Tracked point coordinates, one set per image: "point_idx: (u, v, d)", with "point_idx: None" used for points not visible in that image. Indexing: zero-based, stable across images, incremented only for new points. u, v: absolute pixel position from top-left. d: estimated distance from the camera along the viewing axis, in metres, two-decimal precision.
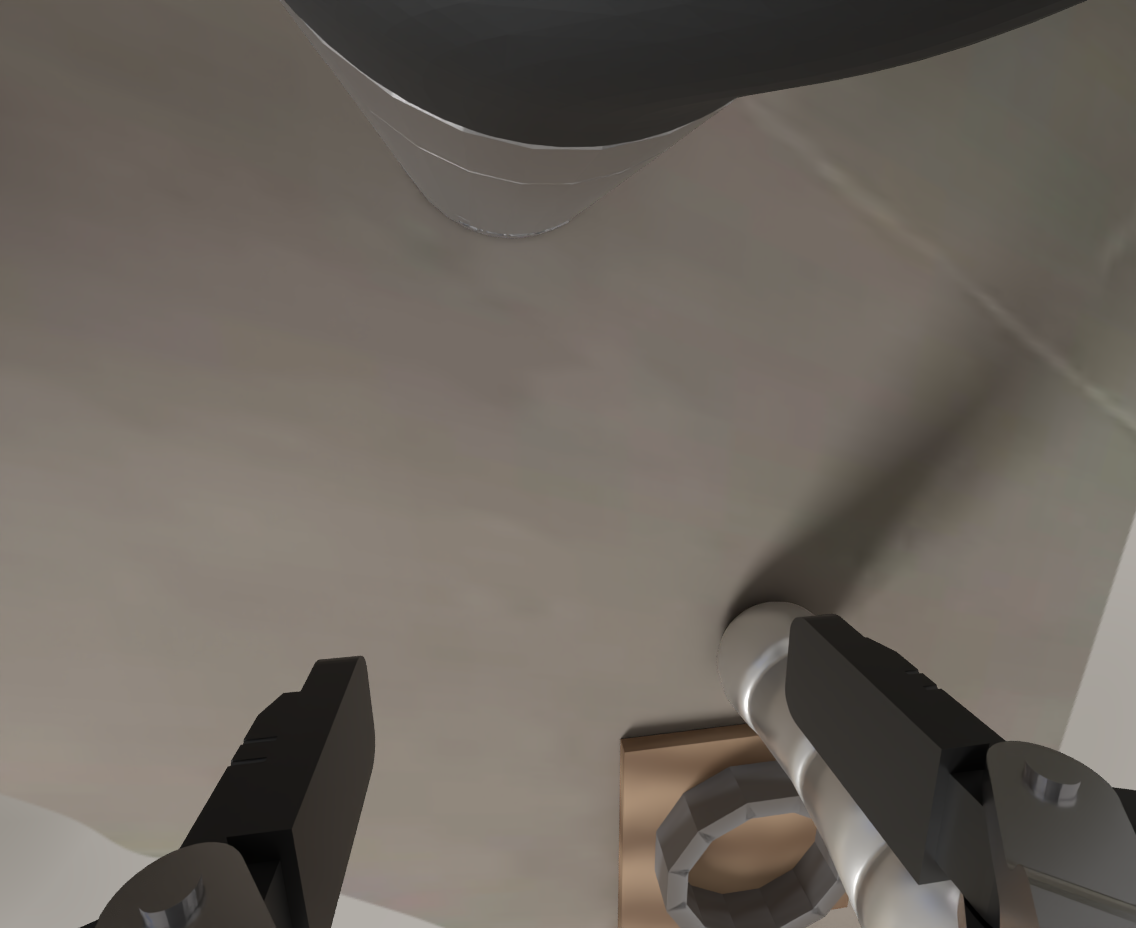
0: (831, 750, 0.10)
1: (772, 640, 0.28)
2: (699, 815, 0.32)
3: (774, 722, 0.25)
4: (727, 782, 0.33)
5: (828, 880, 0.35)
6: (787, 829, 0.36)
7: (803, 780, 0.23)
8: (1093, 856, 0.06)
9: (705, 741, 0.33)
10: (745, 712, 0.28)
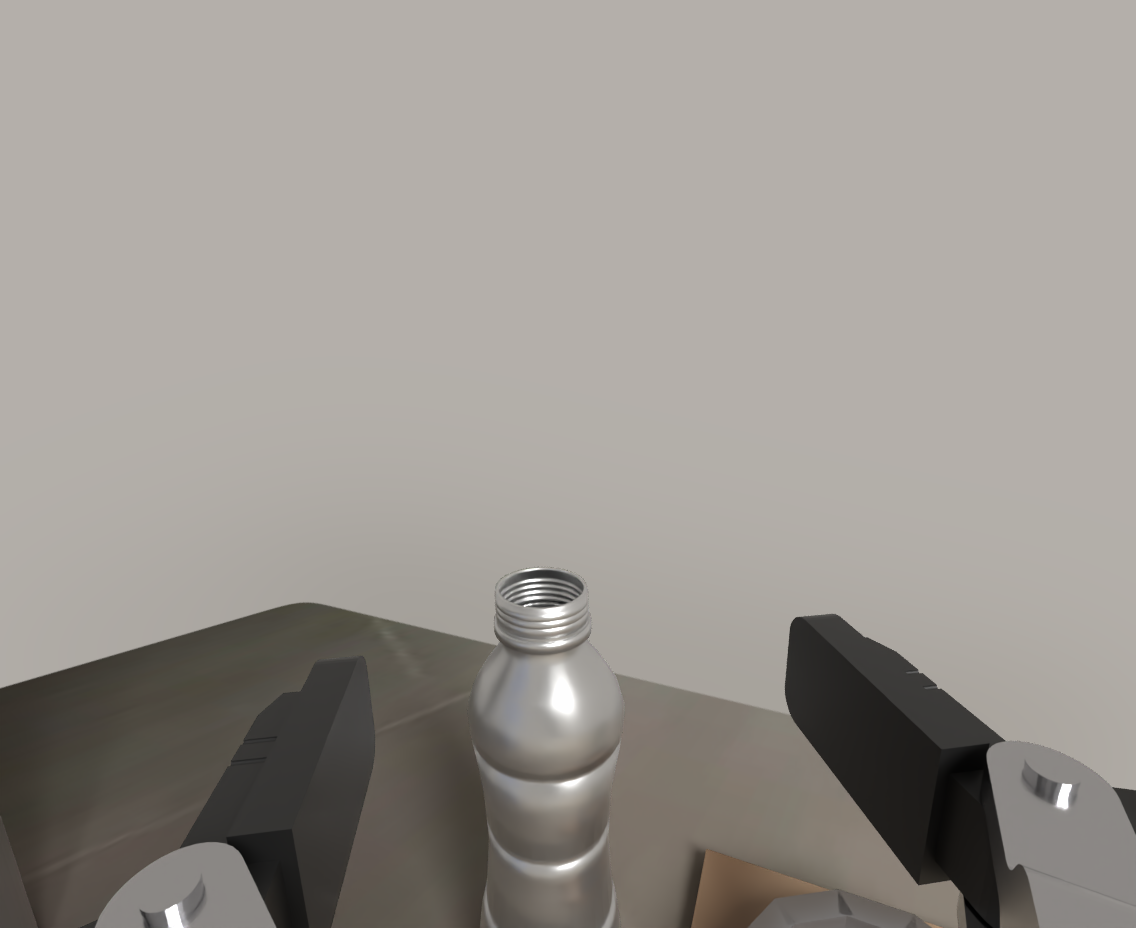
0: (831, 750, 0.10)
1: (484, 908, 0.26)
2: None
3: (509, 900, 0.23)
4: None
5: None
6: None
7: (518, 855, 0.23)
8: (1095, 857, 0.06)
9: None
10: None
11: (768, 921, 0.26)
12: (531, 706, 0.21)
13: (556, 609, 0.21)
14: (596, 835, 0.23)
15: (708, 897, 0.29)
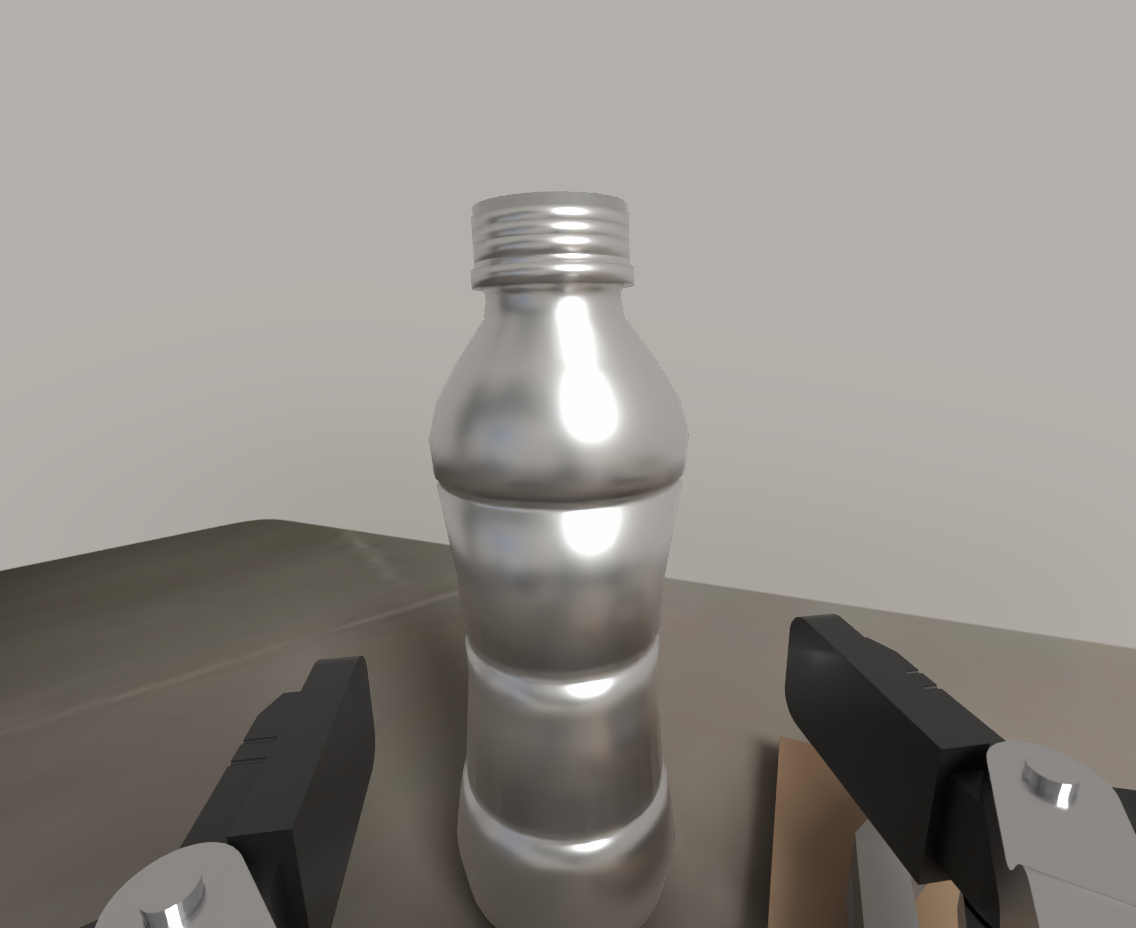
0: (831, 750, 0.10)
1: None
2: None
3: (500, 754, 0.14)
4: None
5: None
6: None
7: (515, 669, 0.13)
8: (1093, 856, 0.06)
9: None
10: (547, 848, 0.14)
11: None
12: (535, 375, 0.12)
13: (577, 195, 0.12)
14: (643, 639, 0.14)
15: (793, 792, 0.20)
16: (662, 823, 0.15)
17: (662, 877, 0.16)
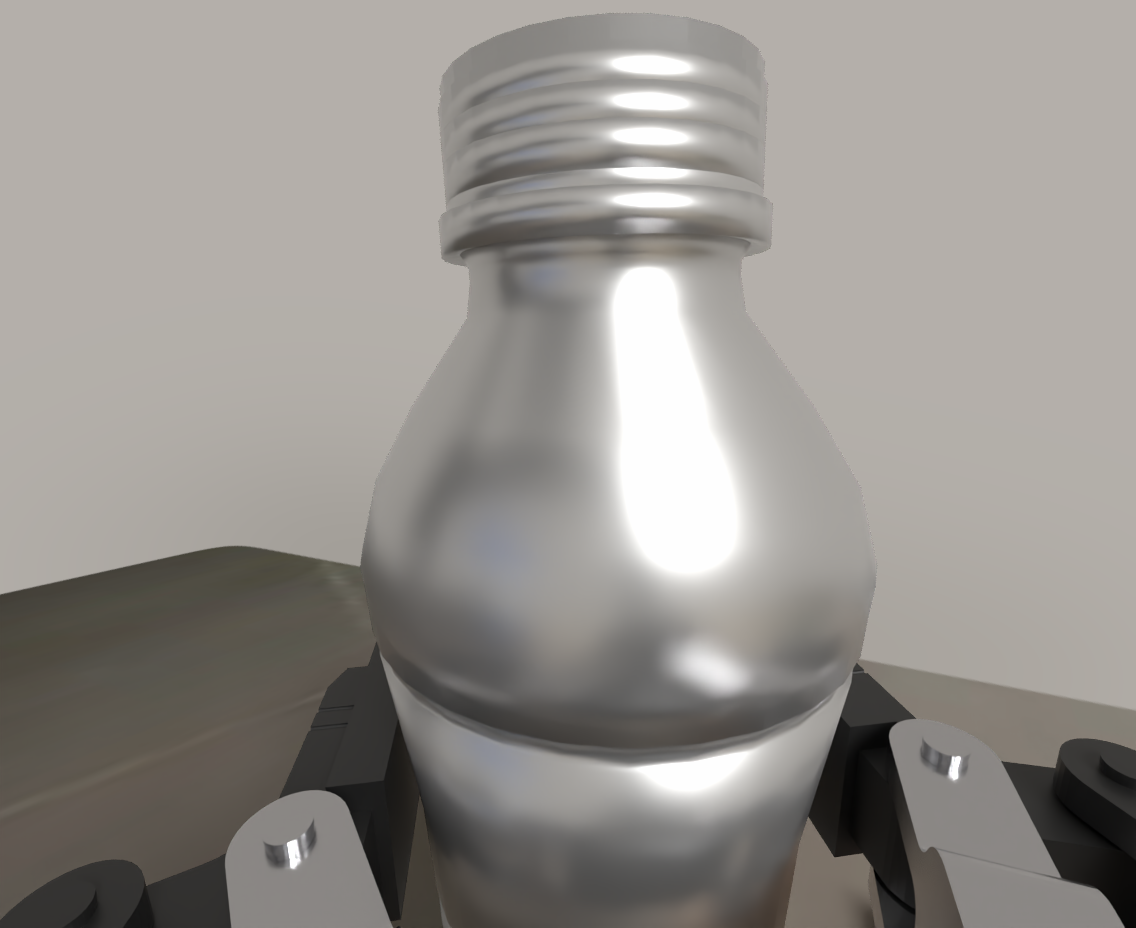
0: None
1: None
2: None
3: None
4: None
5: None
6: None
7: None
8: (989, 824, 0.06)
9: None
10: None
11: None
12: (579, 449, 0.05)
13: (681, 25, 0.05)
14: None
15: None
16: None
17: None
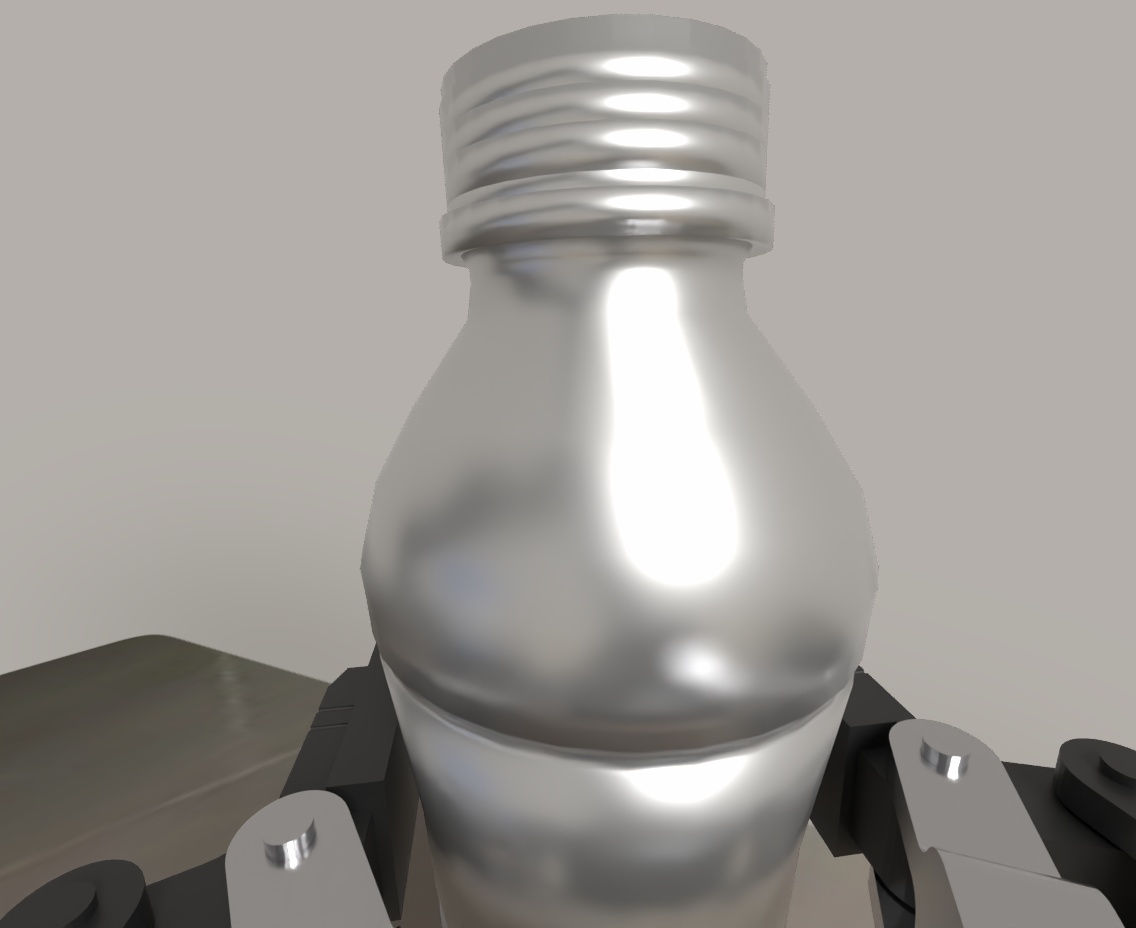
0: None
1: None
2: None
3: None
4: None
5: None
6: None
7: None
8: (988, 825, 0.06)
9: None
10: None
11: None
12: (581, 452, 0.05)
13: (684, 28, 0.05)
14: None
15: None
16: None
17: None
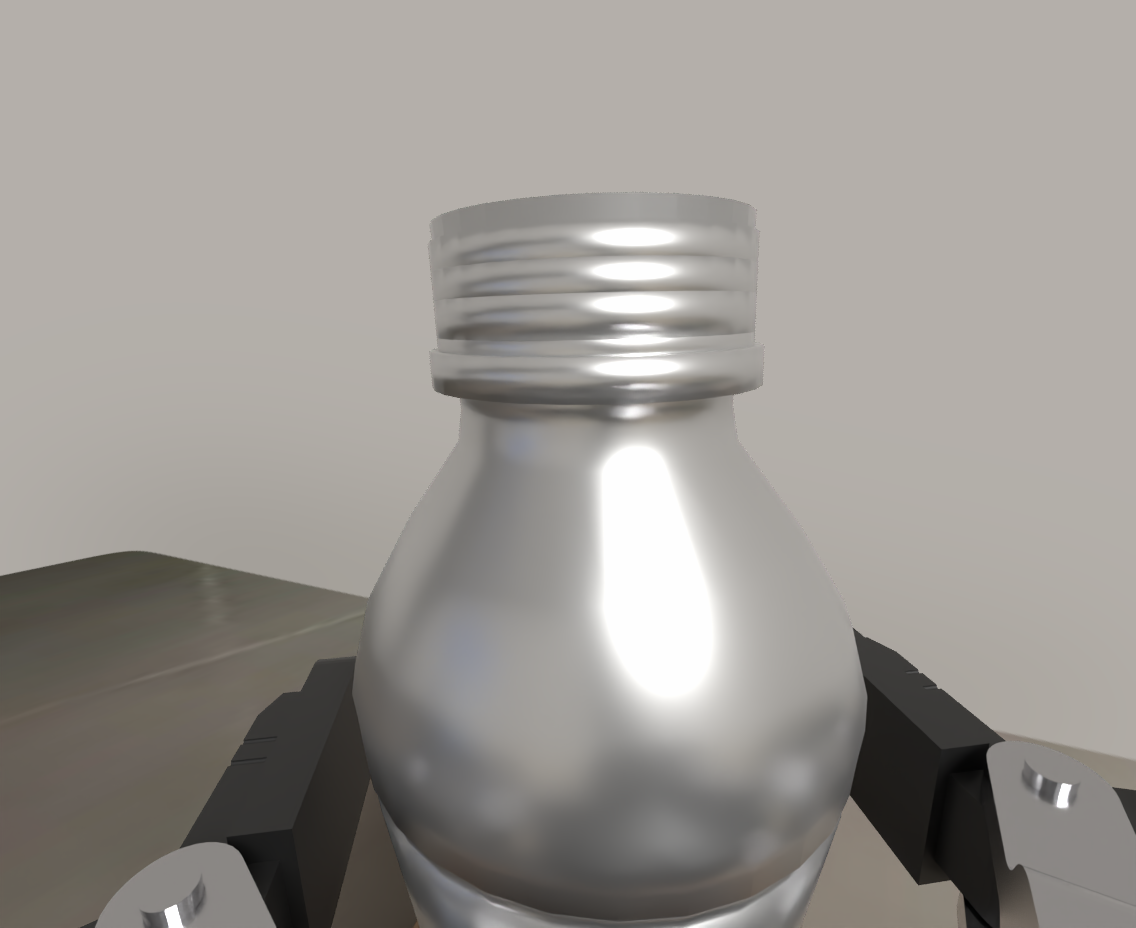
0: None
1: None
2: None
3: None
4: None
5: None
6: None
7: None
8: (1093, 857, 0.06)
9: None
10: None
11: None
12: (568, 618, 0.05)
13: (669, 202, 0.05)
14: None
15: None
16: None
17: None
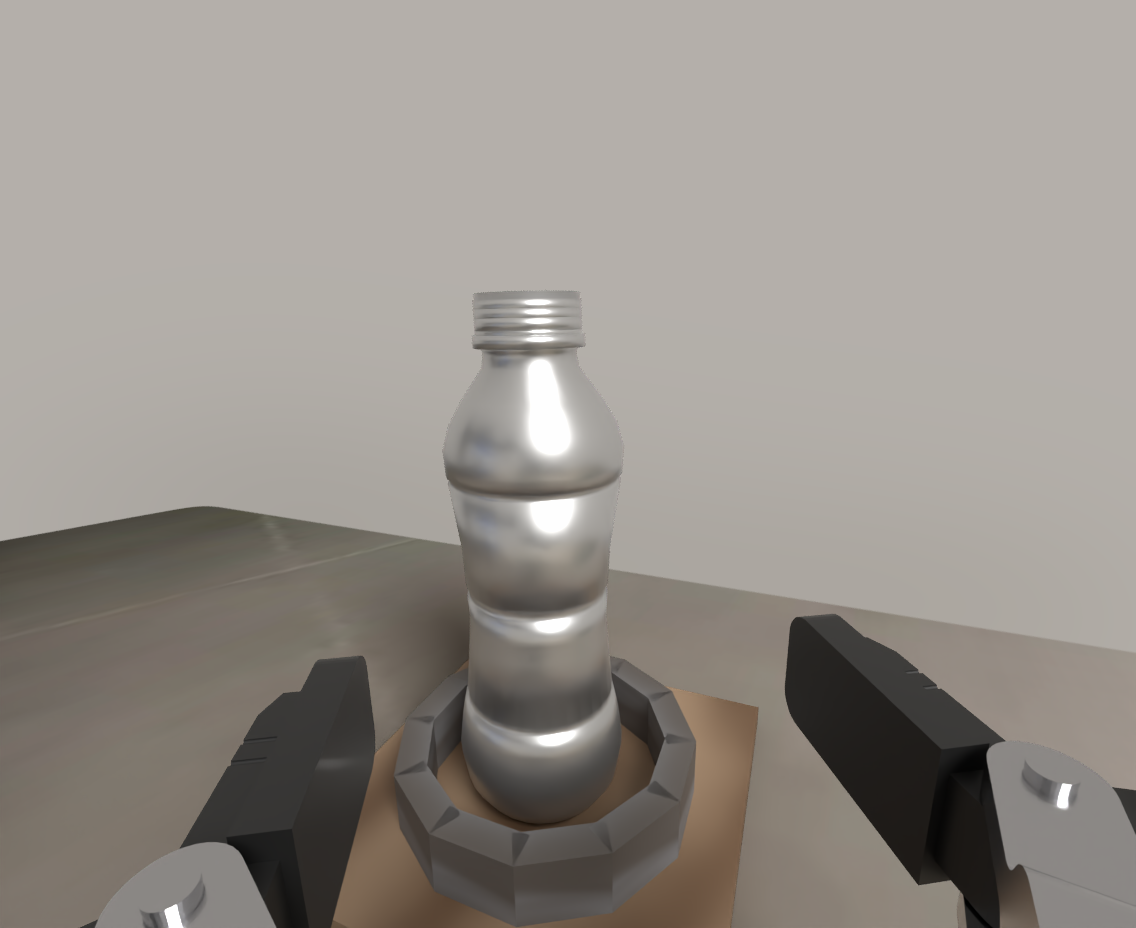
0: (831, 750, 0.10)
1: None
2: None
3: (492, 673, 0.20)
4: None
5: (617, 683, 0.27)
6: None
7: (502, 611, 0.19)
8: (1093, 856, 0.06)
9: None
10: (524, 738, 0.20)
11: None
12: (515, 411, 0.18)
13: (543, 292, 0.17)
14: (592, 592, 0.20)
15: None
16: (608, 727, 0.21)
17: (609, 767, 0.22)
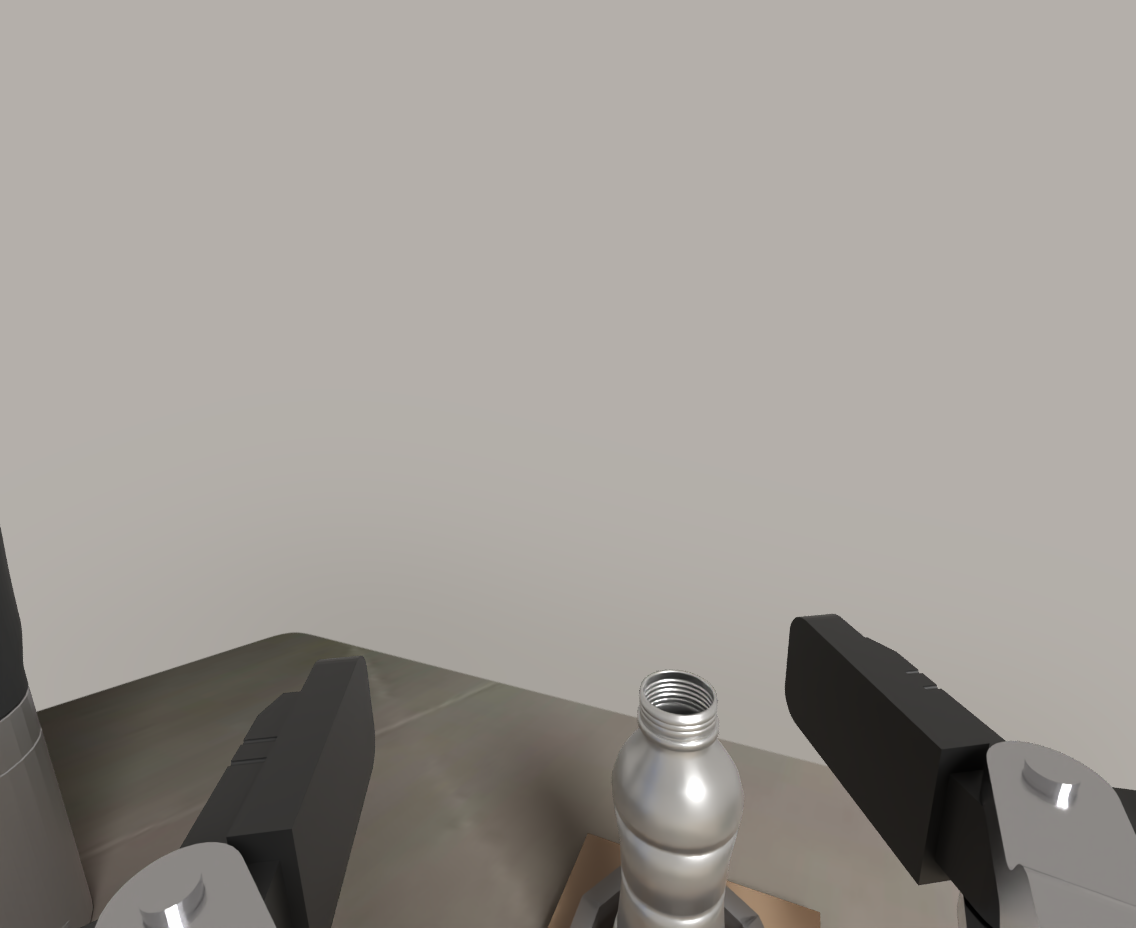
0: (831, 750, 0.10)
1: None
2: None
3: None
4: None
5: None
6: None
7: (659, 911, 0.28)
8: (1094, 857, 0.06)
9: None
10: None
11: (611, 881, 0.36)
12: (678, 794, 0.26)
13: (698, 716, 0.26)
14: (721, 893, 0.28)
15: (581, 867, 0.40)
16: None
17: None
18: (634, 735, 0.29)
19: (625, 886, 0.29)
